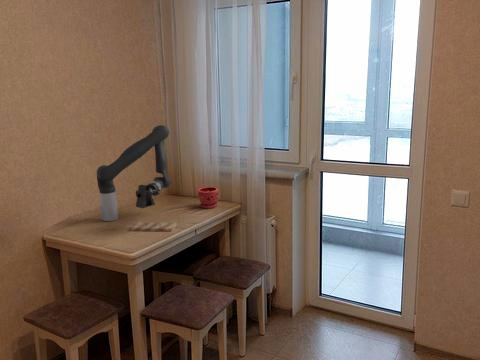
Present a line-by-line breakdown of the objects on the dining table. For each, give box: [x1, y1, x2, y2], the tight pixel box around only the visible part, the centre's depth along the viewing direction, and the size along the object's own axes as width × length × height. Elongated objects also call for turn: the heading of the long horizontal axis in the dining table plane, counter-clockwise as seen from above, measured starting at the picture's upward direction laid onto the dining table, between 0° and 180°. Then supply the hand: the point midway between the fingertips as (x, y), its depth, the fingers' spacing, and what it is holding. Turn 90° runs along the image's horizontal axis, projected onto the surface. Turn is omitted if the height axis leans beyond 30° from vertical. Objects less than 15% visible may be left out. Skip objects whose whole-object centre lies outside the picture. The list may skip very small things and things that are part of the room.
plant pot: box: [197, 186, 219, 209], centre depth 276 cm, size 13×13×12 cm
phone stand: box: [135, 184, 156, 209], centre depth 237 cm, size 9×6×12 cm, turn 141°
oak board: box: [129, 221, 177, 232], centre depth 237 cm, size 24×10×2 cm, turn 82°
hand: (142, 195), depth 234 cm, fingers closed on phone stand, 6 cm apart
